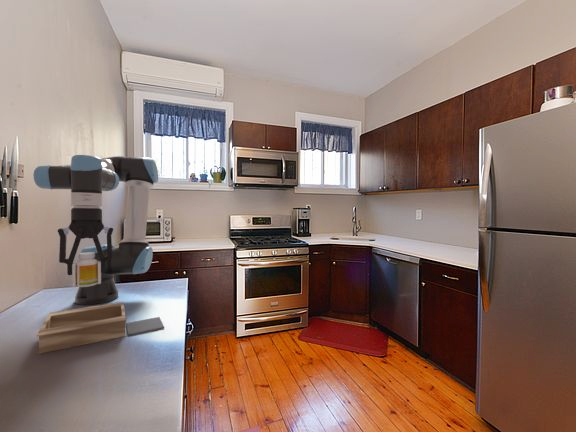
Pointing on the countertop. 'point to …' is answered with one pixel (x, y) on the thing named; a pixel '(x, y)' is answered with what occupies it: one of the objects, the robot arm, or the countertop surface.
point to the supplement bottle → (86, 270)
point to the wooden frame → (81, 326)
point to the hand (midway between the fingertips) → (87, 284)
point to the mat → (144, 326)
